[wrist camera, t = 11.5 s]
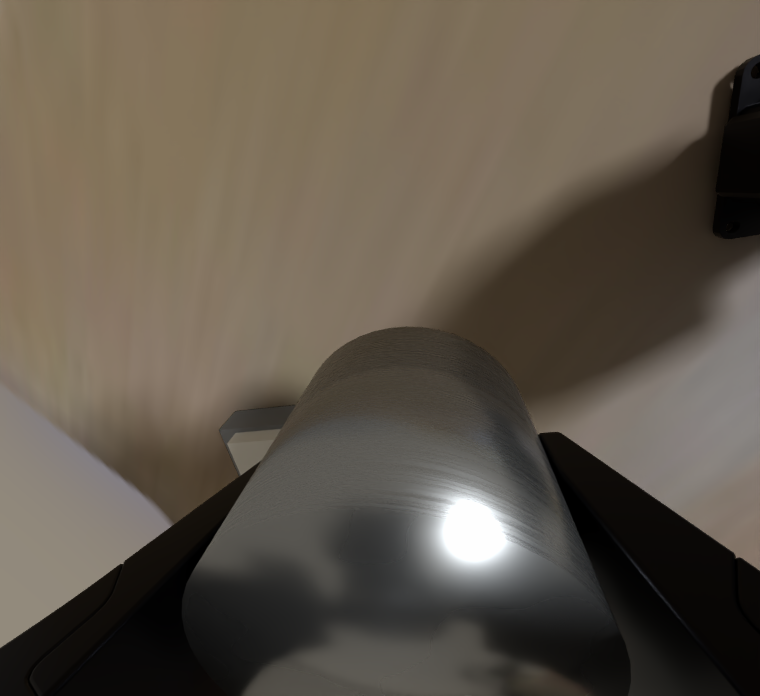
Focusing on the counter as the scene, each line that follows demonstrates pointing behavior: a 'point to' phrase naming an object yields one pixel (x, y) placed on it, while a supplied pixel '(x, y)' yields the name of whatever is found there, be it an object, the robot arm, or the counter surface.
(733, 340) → the counter surface
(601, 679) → the steel spacer
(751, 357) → the counter surface
